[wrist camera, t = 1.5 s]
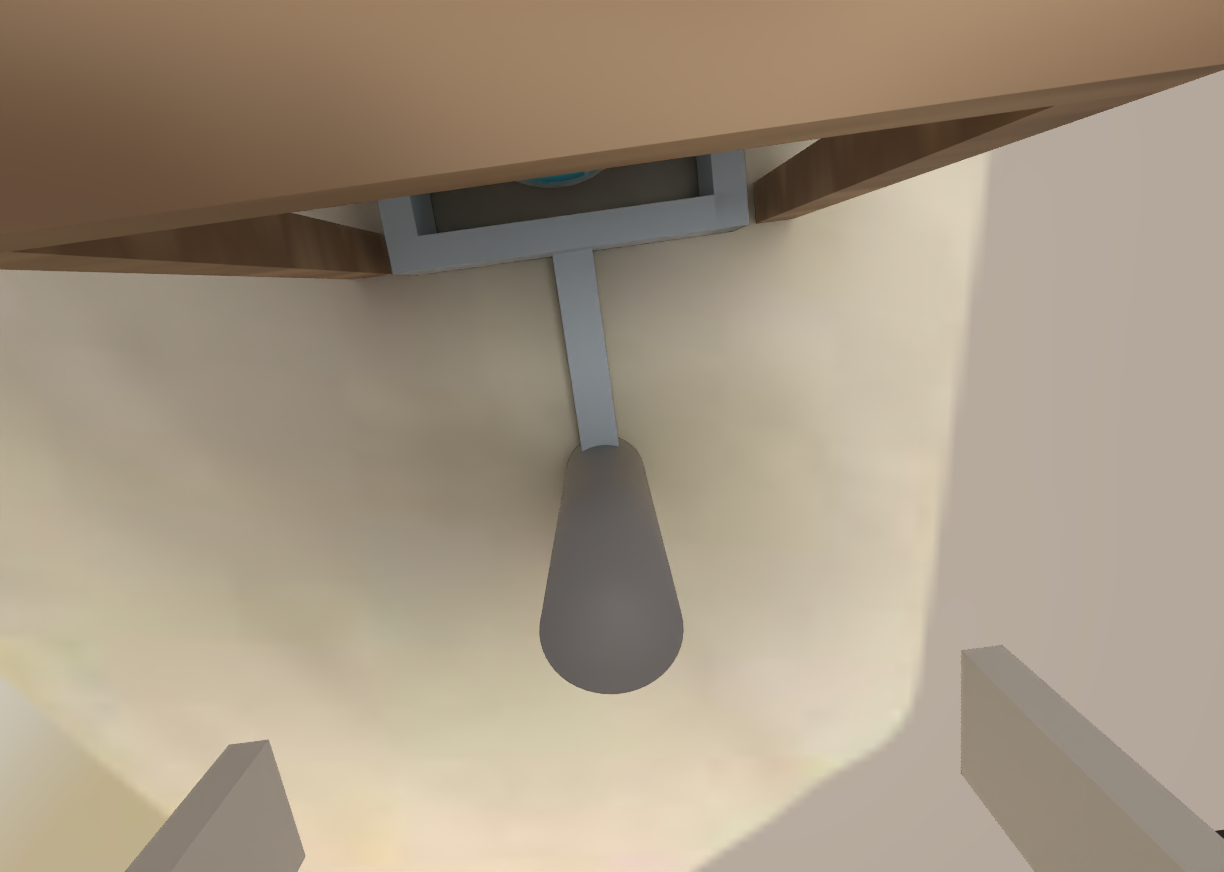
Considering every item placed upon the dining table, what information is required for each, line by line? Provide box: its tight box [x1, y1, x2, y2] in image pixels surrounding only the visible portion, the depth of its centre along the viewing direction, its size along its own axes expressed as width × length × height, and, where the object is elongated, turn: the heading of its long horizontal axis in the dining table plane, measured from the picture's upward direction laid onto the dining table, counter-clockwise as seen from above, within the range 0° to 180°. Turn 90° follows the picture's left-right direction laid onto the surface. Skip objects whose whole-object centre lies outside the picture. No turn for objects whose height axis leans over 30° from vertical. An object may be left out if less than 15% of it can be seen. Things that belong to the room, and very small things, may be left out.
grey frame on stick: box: [377, 149, 749, 694], centre depth 19 cm, size 24×13×13 cm, turn 8°
